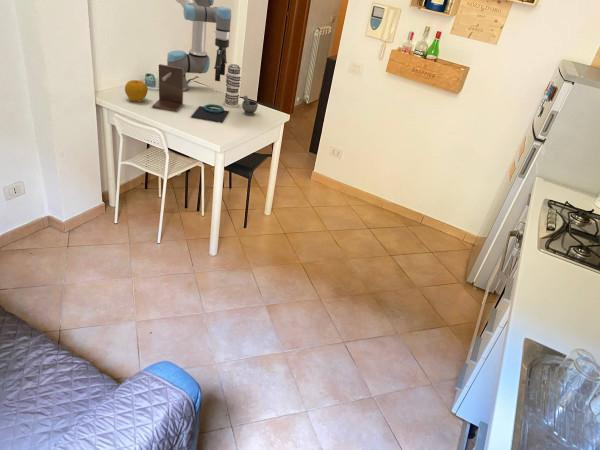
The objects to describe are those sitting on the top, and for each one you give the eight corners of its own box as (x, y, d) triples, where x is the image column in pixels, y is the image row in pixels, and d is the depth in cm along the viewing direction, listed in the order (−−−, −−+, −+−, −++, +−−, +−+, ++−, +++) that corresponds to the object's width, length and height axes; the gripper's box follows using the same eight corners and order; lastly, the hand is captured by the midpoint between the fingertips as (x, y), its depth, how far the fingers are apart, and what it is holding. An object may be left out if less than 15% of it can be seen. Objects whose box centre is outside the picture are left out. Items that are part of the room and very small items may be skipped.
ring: (201, 111, 258) (206, 105, 268) (221, 114, 259) (225, 108, 269) (201, 108, 257) (206, 102, 267) (222, 111, 258) (225, 105, 268)
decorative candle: (221, 105, 276) (224, 64, 263) (227, 101, 284) (230, 62, 271) (235, 108, 275) (238, 68, 262) (240, 104, 283) (243, 65, 269)
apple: (144, 96, 266) (144, 77, 260) (151, 103, 258) (150, 84, 251) (122, 97, 259) (121, 77, 253) (128, 104, 251) (127, 84, 245)
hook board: (160, 101, 264) (159, 64, 252) (183, 104, 265) (183, 68, 253) (151, 108, 251) (150, 69, 240) (175, 112, 252) (176, 74, 240)
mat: (199, 107, 266) (199, 106, 266) (228, 112, 267) (228, 110, 266) (191, 117, 249) (191, 116, 249) (222, 122, 250) (222, 121, 249)
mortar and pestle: (249, 110, 276) (250, 91, 270) (259, 114, 272) (262, 96, 265) (236, 113, 268) (238, 93, 261) (247, 117, 264) (249, 98, 257)
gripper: (220, 33, 246) (217, 71, 258) (210, 41, 225) (208, 82, 237) (233, 35, 246) (230, 73, 258) (224, 44, 225) (222, 84, 237)
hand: (219, 77), depth 247 cm, fingers open, 13 cm apart
